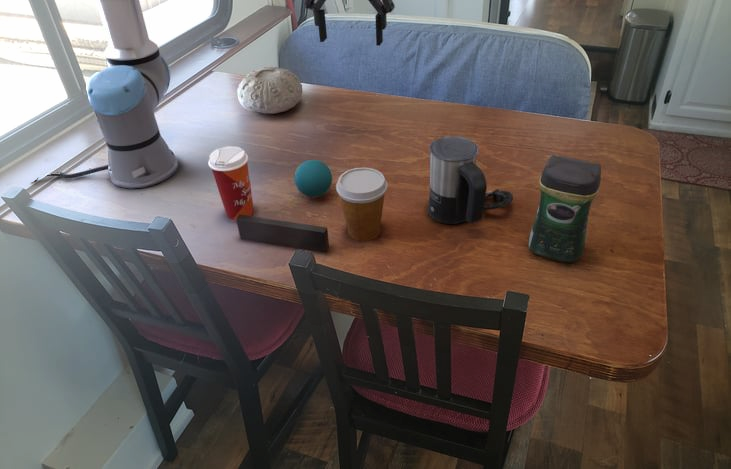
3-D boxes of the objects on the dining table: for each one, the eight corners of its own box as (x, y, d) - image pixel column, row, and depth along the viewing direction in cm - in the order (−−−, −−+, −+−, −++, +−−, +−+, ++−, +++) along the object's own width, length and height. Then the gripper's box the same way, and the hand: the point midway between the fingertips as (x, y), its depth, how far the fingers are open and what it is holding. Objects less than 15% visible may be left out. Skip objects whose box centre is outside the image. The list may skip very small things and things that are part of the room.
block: (240, 239, 106) (235, 219, 103) (244, 234, 108) (239, 214, 104) (326, 253, 102) (324, 232, 99) (329, 247, 103) (327, 227, 100)
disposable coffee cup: (360, 211, 112) (358, 161, 105) (397, 227, 107) (397, 176, 100) (330, 234, 106) (324, 183, 99) (367, 253, 102) (364, 200, 94)
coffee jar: (585, 243, 101) (609, 157, 90) (577, 269, 96) (601, 181, 84) (533, 230, 105) (550, 145, 93) (523, 254, 99) (539, 168, 88)
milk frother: (417, 211, 111) (419, 148, 102) (464, 180, 119) (470, 119, 110) (474, 241, 103) (481, 175, 94) (520, 205, 111) (531, 142, 102)
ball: (291, 202, 116) (286, 170, 111) (304, 181, 122) (300, 150, 117) (326, 207, 114) (323, 174, 109) (338, 186, 120) (335, 154, 115)
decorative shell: (276, 127, 143) (271, 91, 136) (226, 113, 150) (219, 79, 144) (316, 100, 154) (312, 66, 148) (268, 89, 162) (262, 56, 156)
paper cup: (251, 225, 110) (238, 166, 101) (215, 222, 111) (200, 163, 102) (264, 203, 116) (253, 145, 107) (230, 200, 117) (216, 143, 108)
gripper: (281, -59, 112) (294, 44, 125) (399, -58, 105) (399, 51, 118) (295, -66, 117) (307, 33, 130) (408, -65, 111) (407, 39, 124)
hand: (351, 41), depth 124 cm, fingers open, 13 cm apart
